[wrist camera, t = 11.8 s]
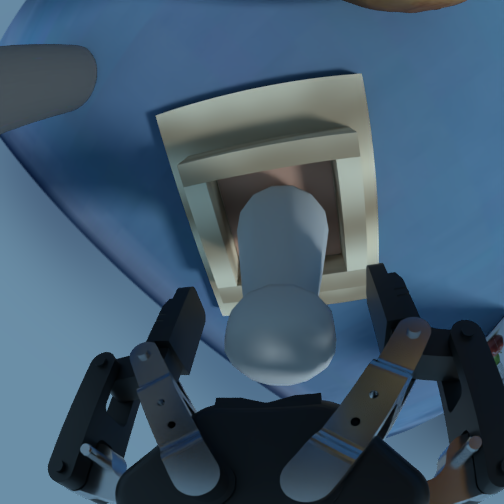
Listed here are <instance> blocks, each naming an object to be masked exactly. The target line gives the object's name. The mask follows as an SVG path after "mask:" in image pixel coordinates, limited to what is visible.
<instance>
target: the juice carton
mask: <svg viewBox="0 0 504 504" xmlns="http://www.w3.org/2000/svg"><path fill="white" fill-rule="evenodd" d="M486 341H487V343H488V345H489V348H490V350H491V353H492V355H493V357H494V360H495V362H496V365H497V368H498V370H499V373H500V376H501V378H502V381H503V384H504V317H503V319H502V320H501V321H500V322H499V323H498V324H497V326H496V327H495V328H494V329H493V330H492V332H491V333H490V334H489V335H488V336H487V337H486Z"/></svg>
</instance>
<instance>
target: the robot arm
mask: <svg viewBox="0 0 504 504" xmlns="http://www.w3.org/2000/svg"><path fill="white" fill-rule="evenodd" d="M366 297H367V304H368V308H369V311H370V315H371V319H372V323H373V326H374V330H375V334H376V338H377V342H378V346H379V350H380V356H379V357H378V359H377V360H375V359H373V360H372V361H371V362H370V363H369V365H368V366H367V368H366V369H365V371H364V372H363V374H362V375H361V376H360V378H359V379H358V381H357V382H356V384H355V385H354V387H353V388H352V389H351V391H350V392H349V394H348V395H347V396H346V398H345V399H344V400H343V402H342V403H341V404H340V405H339V404H337V403H334V402H330V401H324V400H322V398H321V393H316V394H305V395H294V396H290V397H287V398H283V399H280V400H276V401H272V402H268V403H264V402H259V401H253V400H249V399H244V398H216V402H215V405H213V406H210V407H207V408H204V409H202V410H200V411H199V412H197V411H196V410H195V408H194V406H193V405H192V403H191V401H190V399H189V397H188V395H187V394H186V392H185V390H184V388H183V386H182V384H181V383H180V381H179V377H180V375H189V374H190V371H191V367H192V364H193V361H194V357H195V354H196V351H197V348H198V344H199V341H200V338H201V334H202V331H203V328H204V325H205V311H204V308H203V306H202V304H201V301H200V299H199V296H198V294H197V292H196V289H195V288H194V287H184V288H178V289H177V291H176V293H175V295H174V297H173V299H169V300H168V301H167V302H166V303H165V304H164V306H163V307H162V309H161V311H160V313H159V316H158V317H157V320H156V322H155V324H154V326H153V328H152V330H151V332H150V335H149V337H148V339H147V341H146V342H144V343H141V344H139V345H137V346H136V347H135V348H134V349H133V350H132V352H131V353H130V356H127V357H123V358H119V359H116V358H115V357H114V355H113V354H111V353H109V352H104V353H101V354H99V355H98V356H96V357H95V358H94V359H93V360H92V362H91V364H90V366H89V368H88V370H87V372H86V374H85V377H84V379H83V381H82V383H81V385H80V388H79V390H78V392H77V394H76V396H75V399H74V401H73V403H72V405H71V408H70V410H69V412H68V415H67V418H66V420H65V422H64V424H63V427H62V429H61V432H60V434H59V437H58V440H57V442H56V445H55V447H54V450H53V453H52V456H51V458H50V461H49V464H48V472H49V475H50V477H51V478H52V479H53V480H54V481H56V482H57V483H59V484H61V485H63V486H64V487H66V488H67V489H68V490H70V491H72V492H74V493H76V494H78V495H80V496H82V497H84V498H86V499H89V500H92V501H94V502H96V503H98V504H107V503H112V504H478V503H480V502H481V501H483V500H485V499H487V498H489V497H491V496H493V495H494V494H496V493H498V492H500V491H501V490H503V489H504V384H503V381H502V378H501V376H500V373H499V370H498V368H497V365H496V362H495V360H494V357H493V355H492V353H491V350H490V348H489V345H488V343H487V341H486V338H485V336H484V334H483V332H482V330H481V328H480V327H479V326H478V325H477V324H476V323H474V322H472V321H469V320H461V321H458V322H456V323H455V324H454V325H453V327H452V329H451V330H447V329H435V328H432V327H430V325H429V324H428V322H427V321H425V320H424V319H422V318H420V316H419V314H418V312H417V309H416V307H415V305H414V302H413V300H412V298H411V296H410V295H409V291H408V289H407V288H406V285H405V283H404V280H403V279H402V278H401V277H400V276H399V275H398V274H396V273H395V272H394V273H387V271H386V269H385V266H384V264H383V263H378V264H371V265H367V266H366ZM417 379H420V380H434V381H437V384H438V388H439V392H440V397H441V401H442V406H443V410H444V415H445V420H446V426H447V431H448V437H449V443H450V444H449V446H448V447H447V448H446V449H445V450H444V451H443V453H442V454H441V455H440V457H439V459H438V462H437V471H436V474H435V476H434V478H433V479H431V480H428V481H426V479H425V477H424V476H423V475H422V474H421V472H420V471H418V470H417V469H416V468H415V467H413V466H412V465H411V464H410V463H409V462H408V461H407V460H405V459H404V458H403V457H402V456H401V455H400V454H398V453H397V452H396V451H395V450H394V449H392V448H391V447H390V446H389V445H388V444H387V443H386V442H384V439H385V438H386V436H387V435H388V433H389V431H390V430H391V428H392V426H393V424H394V423H395V421H396V419H397V416H398V414H399V412H400V411H401V409H402V407H403V405H404V403H405V401H406V400H407V398H408V396H409V394H410V392H411V390H412V388H413V386H414V384H415V382H416V380H417ZM110 393H111V395H112V396H113V397H112V399H111V402H110V405H109V408H108V410H107V411H106V403H107V400H108V398H109V395H110ZM140 402H141V404H142V407H143V410H144V412H145V415H146V418H147V420H148V422H149V425H150V427H151V430H152V432H153V434H154V437H155V439H156V442H157V444H158V445H157V446H156V447H155V448H154V449H153V450H152V451H150V452H149V453H148V454H146V455H145V456H144V457H143V458H142V459H140V460H139V461H138V462H137V463H135V464H134V465H133V466H131V467H130V468H129V469H128V470H126V469H127V465H126V462H125V460H124V456H125V452H126V448H127V445H128V441H129V438H130V434H131V431H132V428H133V424H134V421H135V417H136V414H137V411H138V408H139V404H140Z"/></svg>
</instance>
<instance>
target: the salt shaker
mask: <svg viewBox="0 0 504 504" xmlns="http://www.w3.org/2000/svg"><path fill="white" fill-rule="evenodd" d="M328 231H329V229H328V224H327V219H326V214H325V211H324V209H323V208H322V206H321V205H320V204H319V203H318V202H317V200H316V199H315V198H314V197H313V196H312V194H310V193H308V192H306V191H304V190H302V189H299V188H297V187H295V186H293V185H283V186H270V187H268V188H266V189H264V190H262V191H260V192H258V193H255V194H254V195H253V196H252V197H251V198H250V200H249V201H248V202H247V204H246V205H245V206H244V208H243V209H242V211H241V212H240V217H239V222H238V228H237V236H238V248H239V260H240V271H241V282H242V293H243V298H242V299H241V300H240V301H239V302H238V304H237V305H236V306H235V307H234V308H233V309H232V310H231V313H230V316H229V319H228V322H227V328H226V333H225V353H226V354H227V356H228V358H229V360H230V362H231V363H232V365H233V366H234V367H235V368H236V369H238V370H239V371H240V372H242V373H243V374H245V375H246V376H247V377H249V378H250V379H252V380H254V381H257V382H261V383H264V384H268V385H288V386H290V385H293V384H297V383H301V382H305V381H308V380H309V379H311V378H312V377H314V376H315V375H317V374H319V373H320V372H321V371H323V370H324V369H325V368H327V367H328V365H329V363H330V361H331V359H332V357H333V355H334V354H335V348H336V334H335V326H334V320H333V316H332V311H331V310H330V308H329V307H328V306H327V305H326V304H325V303H324V302H323V301H322V300H321V298H320V297H319V293H320V286H321V280H322V274H323V267H324V260H325V253H326V246H327V238H328Z"/></svg>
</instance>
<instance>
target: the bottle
mask: <svg viewBox="0 0 504 504" xmlns="http://www.w3.org/2000/svg"><path fill="white" fill-rule="evenodd" d="M96 78H97V67H96V62H95V59H94V57H93V55H92V54H91V53H90V51H89V50H88V49H86V48H84V47H82V46H77V45H62V44H28V45H10V46H0V134H2V133H5V132H7V131H10V130H13V129H16V128H18V127H21V126H24V125H27V124H30V123H33V122H36V121H40V120H43V119H46V118H49V117H53V116H56V115H60V114H63V113H67V112H70V111H73V110H75V109H77V108H79V107H80V106H82V105H83V104H84V103H85V102H86V101H87V100H88V98H89V97H90V95H91V93H92V91H93V89H94V86H95V83H96Z"/></svg>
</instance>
